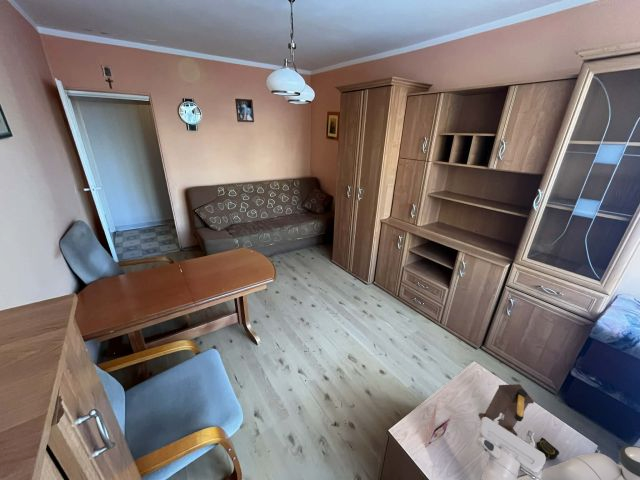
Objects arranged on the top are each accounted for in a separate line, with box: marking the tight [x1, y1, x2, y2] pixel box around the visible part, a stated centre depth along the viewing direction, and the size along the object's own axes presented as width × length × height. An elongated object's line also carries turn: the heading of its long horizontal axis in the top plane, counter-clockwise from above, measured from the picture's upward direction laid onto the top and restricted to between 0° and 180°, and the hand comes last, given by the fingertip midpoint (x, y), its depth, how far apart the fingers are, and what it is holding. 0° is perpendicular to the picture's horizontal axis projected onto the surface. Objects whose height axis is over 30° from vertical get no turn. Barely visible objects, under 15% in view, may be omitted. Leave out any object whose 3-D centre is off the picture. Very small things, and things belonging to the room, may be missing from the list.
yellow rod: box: [514, 388, 529, 423], centre depth 107 cm, size 13×3×4 cm, turn 142°
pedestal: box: [478, 383, 535, 437], centre depth 119 cm, size 10×12×24 cm
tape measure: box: [535, 437, 560, 461], centre depth 114 cm, size 7×7×4 cm
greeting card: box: [424, 403, 453, 448], centre depth 115 cm, size 11×7×15 cm, turn 117°
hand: (516, 422), depth 101 cm, fingers open, 8 cm apart
